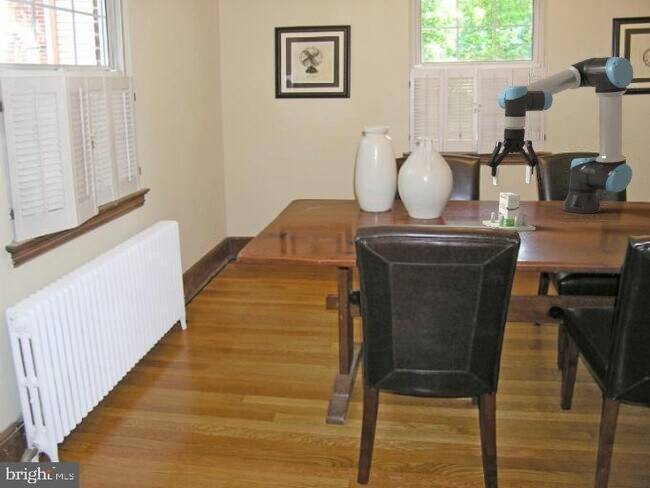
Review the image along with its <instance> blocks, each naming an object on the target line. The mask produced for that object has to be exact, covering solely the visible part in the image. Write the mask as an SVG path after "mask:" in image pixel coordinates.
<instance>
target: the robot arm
mask: <svg viewBox="0 0 650 488" xmlns="http://www.w3.org/2000/svg"><path fill="white" fill-rule="evenodd" d="M633 78H634V68H633V66H632V63H631V61H629V60H628V59H627V58H626V57H620V56H619V57H618V56H607V57H606V56H605V57H604V56H603V57H591V58H587V59H584V60H582V61H579V62H576V63H574V64H571V65H568V66H566V67H565V68H564V69H563V70H562V71H559V72H557V73H554V74H552V75H549V76H547V77H544V78H541V79H538V80H536V81H533V82H530V83H529V84H526V85H510V86H508V87H507V88H506V89H505V90H503V91H501V92H500V93H499V94H498V98H497V102H498V105H499V107H500V108H501V109H503V110H504V127H505V128H504V129H503V141H498V140H497V141H496V142H495V146H494V149H493V151H492V153H491V155H490V157H489V159H488V161H487V164H486V166H488V167H490V168H491V171H490V172H491V173H490V174H491V177H492V179H493V180H492V185H494V186H499V173H500V169H499V167H498V166H499V165H500V164H501V163H502V161H503V160H504V159H505V158H506V156H507V155H509V154H514V153H515V154H520V155H521V157H522V158H523V159H524V162H526V164H527V165H526V166H525V169H526V170H525V183H526V184H528V185H531V184H532V176H533V174H534V167H536V166H537V165H539V164H540V163H539V159H538V157H537V155H536V153H535V150H534V147H533V141H532V140H528V139H527V140H525V135H526V130H525V127H526V115H527V114H526V113H527V112H543V111H548V110H549V109H550V108H551V107H552V105H553V95H557V94H559V93H561V92H563V91H567V90H576V89H579V88H589V87H590V88H594V93H595V94H596V96H597V97H598V99H599V100H598V102H599V103H598V104H599V105H598V106H599V107H598V109H599V110H598V111H599V115H598V118H599V119H598V121H599V124H598V127H599V129H598V131H599V132H598V134H599V135H598V136H599V143H598V145H599V149H598V150H599V153H598V154H599V155H598V156H596V157H584V158H583V157H579V158H574V159H572V161H571V164H570V170H569V171H570V173H569V186H568V194H567V196H566V198H565V201H564V203H563V207H562V208H563V211H565V212H570V213H576V214H596V213H595V212H598V213H600V212H601V203H600V200H599V195H598V190H600V191H606V192H611V193H613V192H614V193H619V192H620V193H621V192H623V191H624V190H625V189H627V187H628V186H629V185H630V183H631V180H632V178H633V177H632V176H633V169H632V168H631V165H629V164H628V163H627V162H626V161H627V158H626V157H625V156H624V155H623V95H624V94H625V93H626V92H627V87H629V86H630V84H631V83H632V81H633ZM502 147H503V149H502V150H501V148H502ZM524 147H526V150H527V152H528V154H527V153H526V150H525V149H524ZM500 151H501V152H500ZM599 211H600V212H599Z"/></svg>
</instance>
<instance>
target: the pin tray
mask: <svg viewBox="0 0 650 488" xmlns="http://www.w3.org/2000/svg"><path fill="white" fill-rule="evenodd" d="M496 213H497V212H496V211H494V212H493V211H492V212H491V216H490V217H491V218H490V220H482V225H485V226H487V227H489V226H491V227H499V228H506V229H514V230H517V231H516V232H527V231H528V232H531V231H536V226H533V225H531V224H528V214H522V220H521V221H520V216H519V217H518V216H515V223H514V226H506V225H504V216H502V215H501V216H500V220H499V222H498V219H496V216H497V214H496ZM491 227H490V228H491Z"/></svg>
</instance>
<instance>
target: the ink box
mask: <svg viewBox="0 0 650 488" xmlns="http://www.w3.org/2000/svg"><path fill="white" fill-rule="evenodd" d="M520 197H521V196H520V194H519V195H518V194H516V193H513V192H502V191H501V192H499V204H498V217H497V218H498V219H497V220H498V222H499V220H500V216H501V215H502V216H504V225H506V226H514V223H515V216H518V217H519V218H520V214H519V213H520Z"/></svg>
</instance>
